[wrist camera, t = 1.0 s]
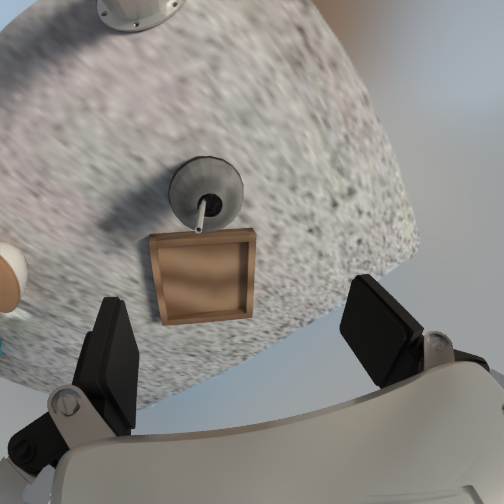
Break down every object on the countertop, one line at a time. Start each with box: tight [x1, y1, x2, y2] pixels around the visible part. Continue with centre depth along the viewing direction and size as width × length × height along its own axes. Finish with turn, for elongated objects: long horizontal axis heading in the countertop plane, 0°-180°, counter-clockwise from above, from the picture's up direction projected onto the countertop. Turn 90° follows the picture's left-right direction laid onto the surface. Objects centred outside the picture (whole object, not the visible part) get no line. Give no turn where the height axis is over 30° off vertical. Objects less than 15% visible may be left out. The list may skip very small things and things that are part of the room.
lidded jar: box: [0, 242, 28, 313], centre depth 29 cm, size 11×11×9 cm
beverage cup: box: [168, 156, 244, 233], centre depth 27 cm, size 7×7×20 cm
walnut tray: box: [148, 228, 256, 326], centre depth 42 cm, size 15×15×2 cm
